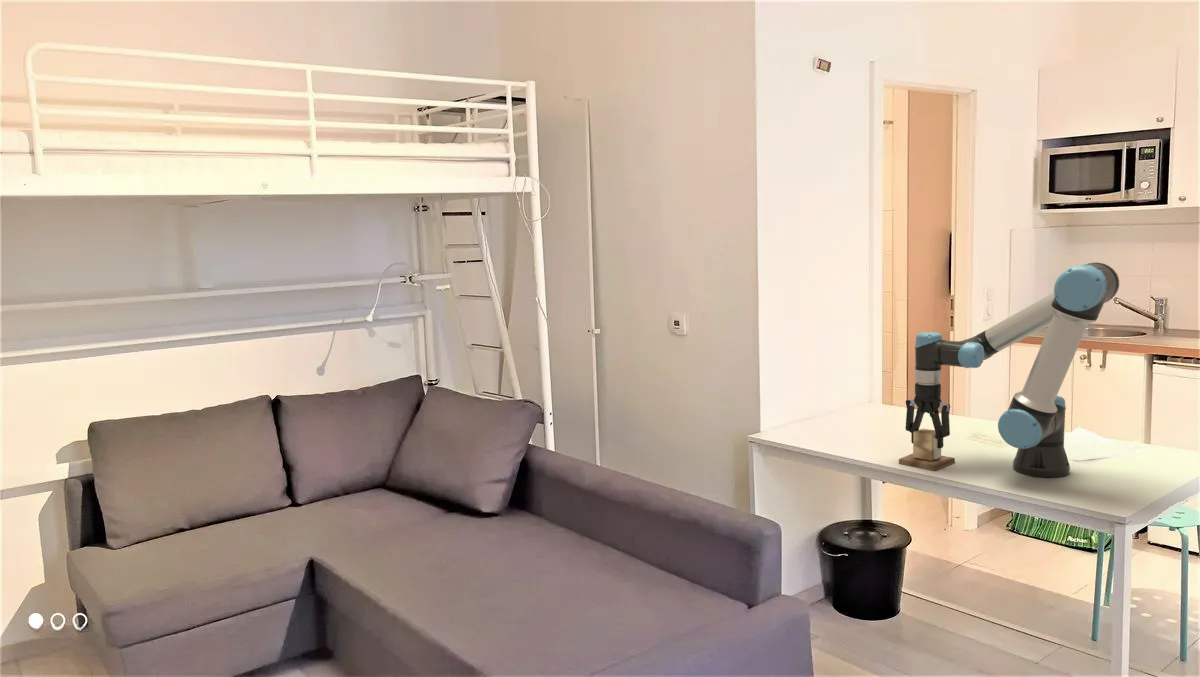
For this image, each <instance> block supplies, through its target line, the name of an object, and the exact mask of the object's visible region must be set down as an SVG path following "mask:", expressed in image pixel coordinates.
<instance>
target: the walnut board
mask: <svg viewBox="0 0 1200 677" xmlns="http://www.w3.org/2000/svg"><path fill="white" fill-rule="evenodd" d="M955 463H956V458H955V457H951V456H946V455H942V454H941V457H940V458H938V459H934V460H932V461H930V460H925V459H920V458H915V457H913V453H910V454H907V455H906V456H903V457H901V458H898V464H899V465H903V466H908V467H913V468H917V469H923V470H927V471H932V472H936V471H939V470H941V469H943V468H946V467H948V466H950V465H954V464H955Z"/></svg>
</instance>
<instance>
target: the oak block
mask: <svg viewBox="0 0 1200 677" xmlns="http://www.w3.org/2000/svg"><path fill="white" fill-rule="evenodd" d="M936 437H937V436H936V433H935V429H929V428H919V430H918V431H915V432H913V443H912V454H913V457H915V458H920V459H925V460H930V461H932V460H934V438H936Z"/></svg>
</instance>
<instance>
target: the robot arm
mask: <svg viewBox="0 0 1200 677" xmlns="http://www.w3.org/2000/svg"><path fill="white" fill-rule="evenodd" d="M1119 287H1120V278H1119V275H1118V273H1117V272H1116V270H1115V269H1114V268H1112V267H1111V266H1110V265H1109V264H1106V263H1102V262H1089V263H1086V264H1076V265H1073V266H1071V267H1069V268H1067V269H1066V270H1064V271H1063V272H1062V273H1060V274H1059V276H1058V277H1057V278H1056V281H1055V282H1054V285H1053V292H1051V293H1050V294H1047V295H1046V296H1045V297H1043V298H1041V299H1038V300H1037V301H1035V302H1034V303H1032V304H1030V305H1029V306H1027V307H1025V308H1023V309H1020V310H1019V311H1018V312H1016V313H1014V314H1012V315H1010V316H1009V317H1007V318H1005V319H1003V320H1002V321H1000V322H998V323H997V324H995V325H992V326H991V327H989V328H987V329H985V330H984V331H982V332H980V333H978V334H976V335H974V336H971V337H970V338H965V339H963V340H959V341H958V340H957V341H956V340H944V339H943V337H942V334H941V333H940V332H934V331H923V332H919V333H917V334H916V336H915V346H914V352H915V354H914V355H915V356H914V358H915V360H914V361H915V369H914V381H915V384H914V394H915V396H914V398H910V399H906V400H905V405H906V416H905V427H904V428H905V431H907V432H910V433H911V441H910V442H911V444H913V432H915V431H918V430H920V427H921V424H922V421H923V419H924V415H925V413H927V414H929V417H930V418H931V421H932V424H933V430H935V433H936V436H937V437H936V438H934V459H938V458H940V457H941V455H942V448H943V447H944V438H947V437H949V436H951V433H950V432H951V431H950V430H951V429H950V428H951V427H950V408H951V404H949V403H948V404H946V403H944V402H943V401H942V399H941V395H942V384H941V382H942V366H947V367H948V366H949V367H958V368H965V369H970V368H971V369H978V368H980V367H981V366H982V364H983V363H984V361H985V360H989V359H990V358H991V357H993V356H994V355H995V354H997V353H999V352H1001V351H1002V350H1004V349H1007V348H1009V347H1010V346H1012V345H1014V344H1017V343H1018V342H1019V341H1021V340H1024V339H1025V338H1028V337H1029V336H1031V335H1033V334H1035V333H1037V332H1039V331H1040V330H1042V329H1044V328H1046V327H1047V330H1046V332H1045V335H1044V338H1043V339H1042V342H1041V345H1040V347H1039V350H1038V352H1037V353H1036V354H1037V355H1036V357H1035V359H1034V361H1033V364H1032V365H1031V366H1032V367H1031V369H1030V371H1029V374H1028V376H1027V378H1026V381H1025V383H1024V386H1023V388H1022V390H1020V391H1018V392H1015V393H1014V395H1013V397H1012V400H1011V402H1010V404H1009V407H1008V408H1007V410H1005V411H1004V412H1003V413H1001V415H1000V417H999V419H998V421H997V429H998V432H999V435H1000V436H1001V438H1002V440H1003V441H1004V442H1005V443H1006V444H1007V445H1010V446H1011V447H1013V448H1016V449H1017V451H1016V454H1015V457H1014V458H1013V461H1012V469H1013V470H1014V471H1015V472H1017V473H1019V474H1023V475H1026V476H1029V477H1038V478H1062V477H1066V476H1068V475H1070V473H1071V472H1070V469H1071V466H1070V462H1069V459H1068V455H1067V452H1066V450H1065V428H1066V426H1065V425H1066V409H1067V407H1066V400H1065V398H1064V397H1063V396H1060V395H1058V394H1059V392H1060V389H1061V387H1062V385H1063V383H1064V381H1065V378H1066V376H1067V373H1068V371H1069V369H1070V366H1071V364H1072V363H1073V359H1074V357H1075V355H1076V352H1077V350H1078V348H1079V345H1080V343H1081V341H1082V338H1083V336H1084V335H1085V332H1086V330H1087V327H1088V325H1090V324H1092V323H1094V322H1096V321H1097V320H1098V318H1099V315H1100V313H1101V311H1102V309H1103V307H1104V304H1105V303H1108V302H1110V301H1111V300H1112V299H1113V298H1114V297H1115V296H1116V294H1117V293H1118V291H1119ZM915 406H916V407H917V409H916V412H915ZM939 408H940V411H941V413H940V412H939ZM915 414H916V415H915ZM914 416H915V417H914ZM940 417H941V418H940Z"/></svg>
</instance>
